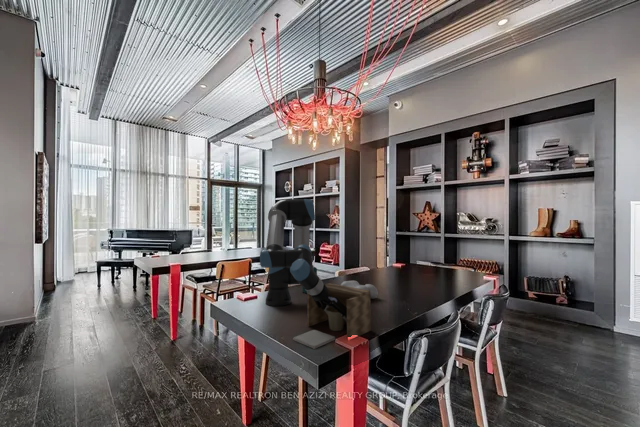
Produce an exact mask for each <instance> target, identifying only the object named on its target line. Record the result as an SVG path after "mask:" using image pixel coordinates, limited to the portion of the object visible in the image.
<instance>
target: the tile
mask: <svg viewBox="0 0 640 427" xmlns="http://www.w3.org/2000/svg"><path fill="white" fill-rule="evenodd" d="M292 338H293V339H292V340H293V341H295V342H296V343H299V344H302V345H304V346H306V347H309V348H311V349H314V350H315V349H317V348H319V347H322V346H324V345H326V344H328V343H330V342H332V341H335V340H336V336H334V335H331V334H328V333H325V332H323V331H320V330H317V329H312V330H310V331H309V330H308V331H306V332H304V333H301V334H298V335H297V336H293V337H292Z"/></svg>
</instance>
